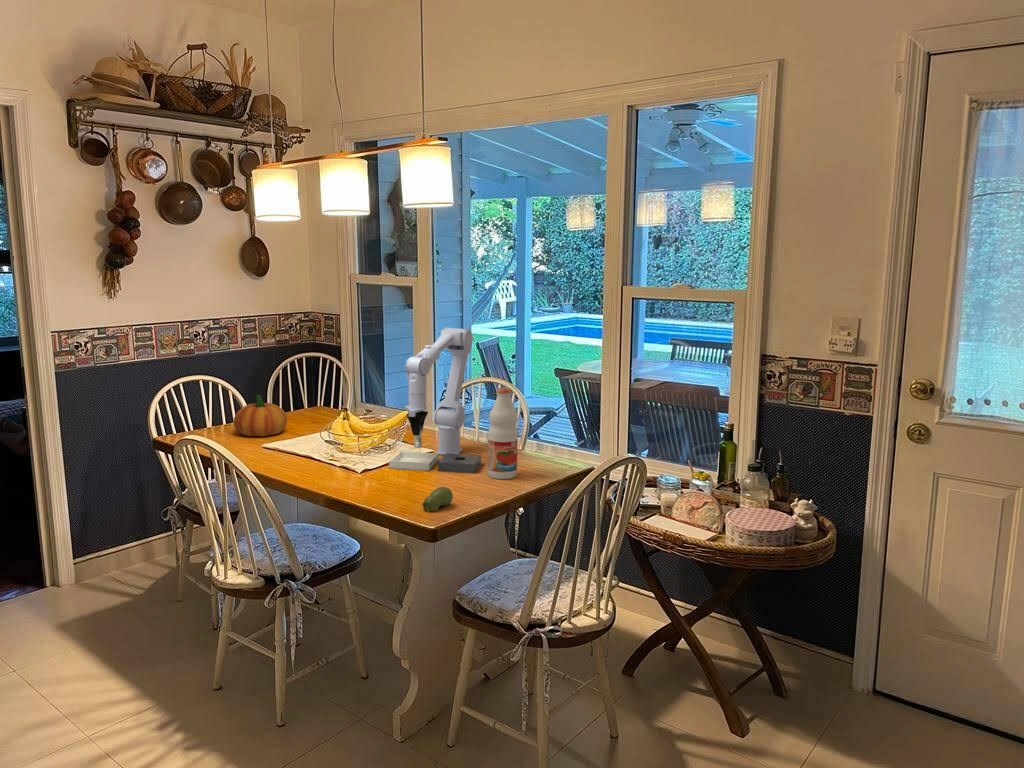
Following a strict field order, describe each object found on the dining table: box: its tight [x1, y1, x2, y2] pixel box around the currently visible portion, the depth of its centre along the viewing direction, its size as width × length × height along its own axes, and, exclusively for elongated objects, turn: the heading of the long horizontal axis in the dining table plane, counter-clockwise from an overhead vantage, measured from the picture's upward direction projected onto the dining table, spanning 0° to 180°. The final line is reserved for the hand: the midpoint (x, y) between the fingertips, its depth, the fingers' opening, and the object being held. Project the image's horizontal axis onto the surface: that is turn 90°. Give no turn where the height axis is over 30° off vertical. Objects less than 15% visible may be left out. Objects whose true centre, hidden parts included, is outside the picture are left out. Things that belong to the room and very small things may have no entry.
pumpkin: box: [233, 394, 288, 438], centre depth 297 cm, size 19×19×15 cm
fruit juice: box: [486, 387, 519, 480], centre depth 246 cm, size 9×9×28 cm
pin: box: [413, 431, 423, 449], centre depth 257 cm, size 2×2×8 cm
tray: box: [388, 450, 439, 472], centre depth 258 cm, size 13×13×3 cm
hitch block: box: [437, 453, 482, 474], centre depth 256 cm, size 12×12×3 cm
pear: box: [421, 486, 454, 512], centre depth 215 cm, size 6×5×10 cm
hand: (417, 434), depth 257 cm, fingers closed on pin, 2 cm apart
